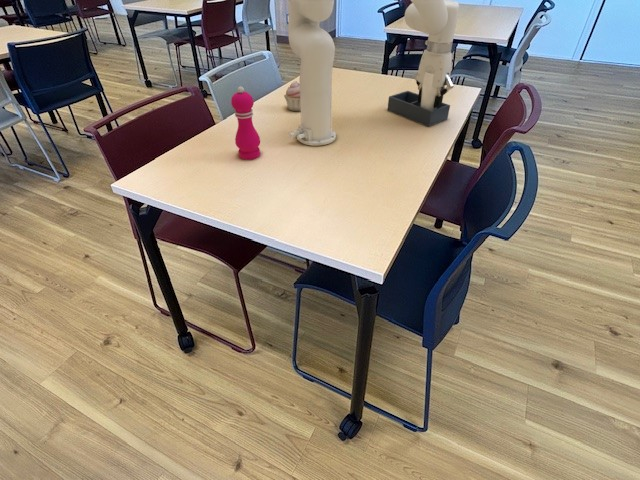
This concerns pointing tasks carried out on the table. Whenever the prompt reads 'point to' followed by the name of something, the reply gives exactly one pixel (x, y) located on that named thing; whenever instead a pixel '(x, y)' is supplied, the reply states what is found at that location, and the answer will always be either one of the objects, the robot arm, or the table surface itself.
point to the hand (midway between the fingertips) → (429, 103)
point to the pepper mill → (245, 125)
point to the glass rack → (416, 109)
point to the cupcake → (293, 97)
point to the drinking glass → (428, 92)
